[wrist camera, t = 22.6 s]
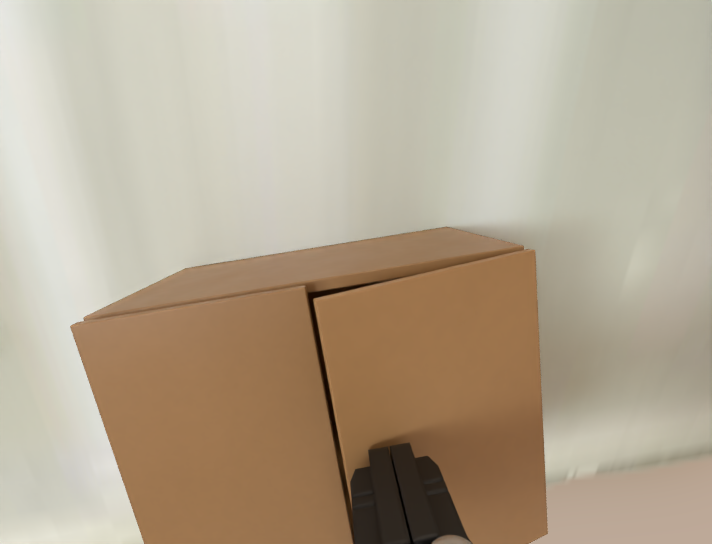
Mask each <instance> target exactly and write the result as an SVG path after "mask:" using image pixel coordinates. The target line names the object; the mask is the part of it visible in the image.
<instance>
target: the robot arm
mask: <svg viewBox="0 0 712 544" xmlns="http://www.w3.org/2000/svg"><path fill="white" fill-rule="evenodd" d="M389 447H390V453H389V449H388V446H387V447H381V448H376V449H370V450H368V455H369V461H370V466H369V467H364V468H358V469H355V471H354V474H353V476H352V479H351V481H350V487H351V498H352V499H351V500H352V514H353V528H354V542H355V544H473V543H472V542H471V541H470V540H469V538H468V536H467V534H466V532H465V530H464V527H463V525H462V522H461V520H460V518H459V515H458V513H457V510H456V508H455V505H454V503H453V500H452V498H451V495H450V493H449V492H448V488H447V486H446V483H445V481H444V478H443V476H442V473H441V471H440V468H439V466H438V465H437V464H436V463H435V462H434V461H433V460H432V459H431V458H430V457H429V456H423V457H417V458H415V457H414V454H413V451H412V447H411V445H410V442H408V443H403V444H397V445H392V446H389ZM390 455H391V457H390Z"/></svg>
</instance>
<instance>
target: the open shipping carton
mask: <svg viewBox="0 0 712 544" xmlns="http://www.w3.org/2000/svg"><path fill="white" fill-rule="evenodd" d="M521 250H524V246H522V245H518V244H514V243H510V242H506V241H502V240H498V239H494V238H490V237H486V236H482V235H477V234H473V233H469V232H465V231H461V230H457V229H453V228H449V227H442V228H436V229H430V230H423V231H417V232H411V233H405V234H398V235H392V236H386V237H380V238H373V239H367V240H361V241H354V242H348V243H342V244H336V245H329V246H323V247H317V248H311V249H304V250H298V251H292V252H286V253H279V254H273V255H267V256H260V257H254V258H248V259H242V260H235V261H229V262H223V263H217V264H210V265H204V266H198V267H192V268H185V269H183V270H181V271H179V272H177V273H175V274H173V275H171V276H169V277H167V278H165V279H162V280H160V281H158V282H156V283H154V284H152V285H150V286H148V287H146V288H144V289H142V290H140V291H137V292H135V293H133V294H131V295H129V296H127V297H125V298H123V299H121V300H119V301H117V302H115V303H112V304H110V305H108V306H106V307H104V308H102V309H100V310H98V311H96V312H94V313H92V314H90V315H87V316H85V317H84V321H83V322H77V323H75V324H73V325H71V326H70V327H71V330H72V333H73V336H74V339H75V342H76V345H77V348H78V351H79V354H80V357H81V360H82V362H83V365H84V368H85V371H86V374H87V377H88V380H89V383H90V386H91V389H92V392H93V395H94V398H95V401H96V403H97V406H98V409H99V412H100V415H101V418H102V421H103V424H104V427H105V430H106V433H107V436H108V439H109V442H110V444H111V447H112V450H113V453H114V456H115V459H116V462H117V465H118V468H119V471H120V474H121V477H122V480H123V483H124V485H125V488H126V491H127V494H128V497H129V500H130V503H131V506H132V509H133V512H134V515H135V518H136V521H137V524H138V526H139V529H140V532H141V535H142V538H143V541H144V544H355V542H354V528H353V514H352V508H351V502H350V497H349V491H348V486H347V480H346V475H345V470H344V464H343V459H342V453H341V448H340V442H339V437H338V432H337V426H336V421H335V415H334V410H333V404H332V399H331V394H330V388H329V383H328V377H327V372H326V366H325V361H324V356H323V350H322V345H321V339H320V334H319V328H318V323H317V318H316V312H315V307H314V301H313V300H314V299H315V298H319V297H323V296H327V295H332V294H336V293H340V292H345V291H349V290H353V289H357V288H362V287H366V286H370V285H375V284H379V283H383V282H388V281H392V280H396V279H401V278H405V277H409V276H414V275H418V274H422V273H426V272H431V271H435V270H439V269H444V268H448V267H452V266H457V265H461V264H465V263H470V262H474V261H478V260H482V259H487V258H491V257H495V256H500V255H504V254H508V253H513V252H517V251H521Z"/></svg>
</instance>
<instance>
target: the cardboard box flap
mask: <svg viewBox="0 0 712 544" xmlns="http://www.w3.org/2000/svg"><path fill="white" fill-rule="evenodd" d="M313 301H314V307H315V312H316V318H317V323H318V328H319V334H320V339H321V345H322V350H323V356H324V361H325V366H326V372H327V377H328V383H329V388H330V394H331V399H332V404H333V410H334V415H335V421H336V426H337V432H338V437H339V442H340V448H341V453H342V459H343V464H344V470H345V475H346V480H347V486H348V491H349V497H350V502H351V508H352V500H351V499H352V498H351V487H350V481H351V479H352V476H353V474H354V471H355V469H358V468H364V467H369V466H370V461H369V455H368V450H370V449H376V448H381V447H387V446H388V449H389V453H390V447H389V446H392V445H397V444H403V443H408V442H410V445H411V447H412V451H413V454H414V457H415V458H417V457H423V456H429V457H430V458H431V459H432V460H433V461H434V462H435V463H436V464H437V465H438V466H439V468H440V471H441V473H442V476H443V478H444V481H445V483H446V486H447V488H448V492H449V493H450V495H451V498H452V500H453V503H454V505H455V508H456V510H457V513H458V515H459V518H460V520H461V522H462V525H463V527H464V530H465V532H466V534H467V536H468V538H469V540H470V541H471V542H472V543H473V544H529V543H531V542H533V541H535V540H536V539H538V538H540V537H542V536H544V535H546V534H548V531H547V530H548V528H547V508H546V507H547V506H546V483H545V461H544V438H543V415H542V393H541V370H540V348H539V325H538V302H537V280H536V257H535V250H531V249H526V250H521V251H517V252H513V253H508V254H504V255H500V256H495V257H491V258H487V259H482V260H478V261H474V262H470V263H465V264H461V265H457V266H452V267H448V268H444V269H439V270H435V271H431V272H426V273H422V274H418V275H414V276H409V277H405V278H401V279H396V280H392V281H388V282H383V283H379V284H375V285H370V286H366V287H362V288H357V289H353V290H349V291H345V292H340V293H336V294H332V295H327V296H323V297H319V298H315V299H314V300H313ZM390 457H391V455H390Z"/></svg>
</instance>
